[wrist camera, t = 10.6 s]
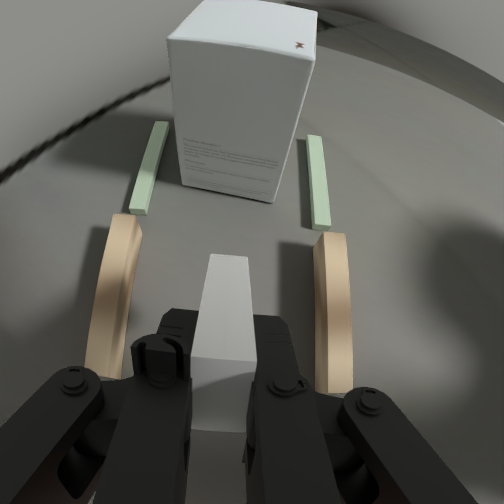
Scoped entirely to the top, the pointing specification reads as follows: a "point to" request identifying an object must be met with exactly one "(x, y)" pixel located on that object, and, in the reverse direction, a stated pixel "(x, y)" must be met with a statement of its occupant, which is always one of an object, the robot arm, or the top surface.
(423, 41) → the top surface
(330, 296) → the channel
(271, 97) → the supplement box
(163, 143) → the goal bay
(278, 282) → the top surface
